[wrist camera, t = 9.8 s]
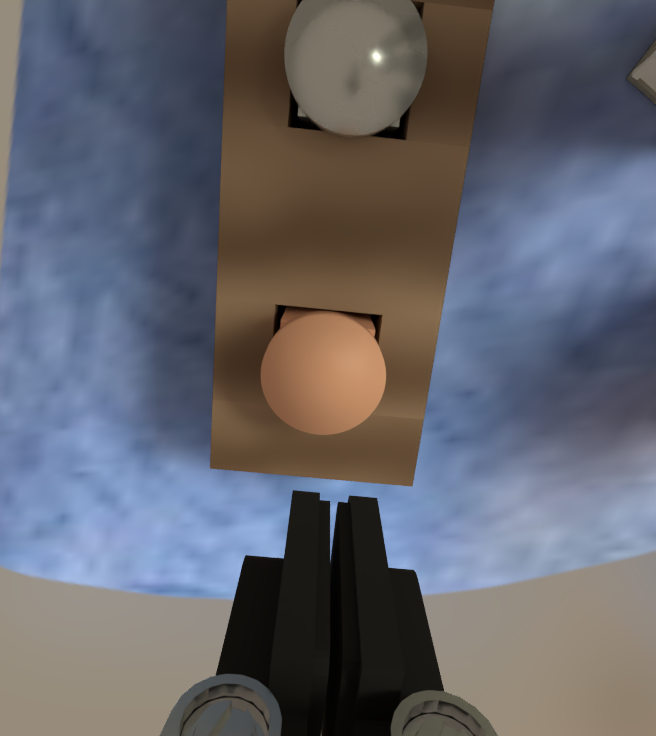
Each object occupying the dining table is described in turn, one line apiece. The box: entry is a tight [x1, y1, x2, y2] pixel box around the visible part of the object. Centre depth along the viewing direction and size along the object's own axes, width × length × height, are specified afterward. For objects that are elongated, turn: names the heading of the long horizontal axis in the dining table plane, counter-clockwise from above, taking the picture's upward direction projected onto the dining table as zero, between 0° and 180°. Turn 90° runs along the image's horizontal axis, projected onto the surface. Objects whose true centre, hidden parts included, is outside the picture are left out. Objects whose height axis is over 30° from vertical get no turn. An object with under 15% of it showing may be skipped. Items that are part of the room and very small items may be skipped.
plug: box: [284, 0, 427, 138], centre depth 22 cm, size 5×5×6 cm
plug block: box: [210, 0, 494, 486], centre depth 24 cm, size 24×10×5 cm, turn 174°
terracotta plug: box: [261, 306, 386, 435], centre depth 24 cm, size 5×5×6 cm
